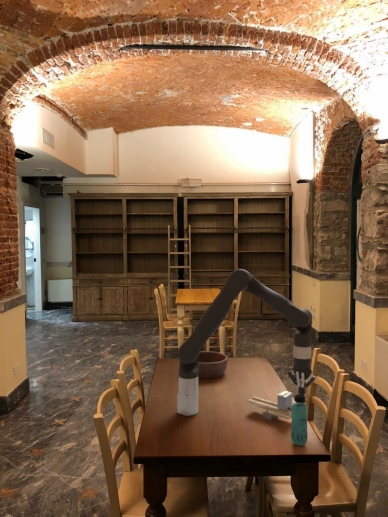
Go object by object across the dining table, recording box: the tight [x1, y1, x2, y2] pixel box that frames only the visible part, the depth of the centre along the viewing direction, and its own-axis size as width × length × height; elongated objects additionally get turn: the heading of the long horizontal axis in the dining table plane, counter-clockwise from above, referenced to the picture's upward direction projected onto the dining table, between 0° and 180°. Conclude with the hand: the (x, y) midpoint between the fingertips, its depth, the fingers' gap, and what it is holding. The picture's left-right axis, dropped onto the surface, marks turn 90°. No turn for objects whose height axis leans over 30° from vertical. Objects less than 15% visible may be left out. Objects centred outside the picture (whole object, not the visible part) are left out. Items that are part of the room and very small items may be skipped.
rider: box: [277, 390, 293, 411], centre depth 186 cm, size 6×4×8 cm, turn 141°
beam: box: [246, 395, 292, 422], centre depth 190 cm, size 7×21×6 cm, turn 51°
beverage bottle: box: [290, 393, 309, 446], centre depth 165 cm, size 6×7×20 cm
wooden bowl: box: [198, 350, 229, 380], centre depth 250 cm, size 25×25×10 cm
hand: (301, 395), depth 180 cm, fingers closed
